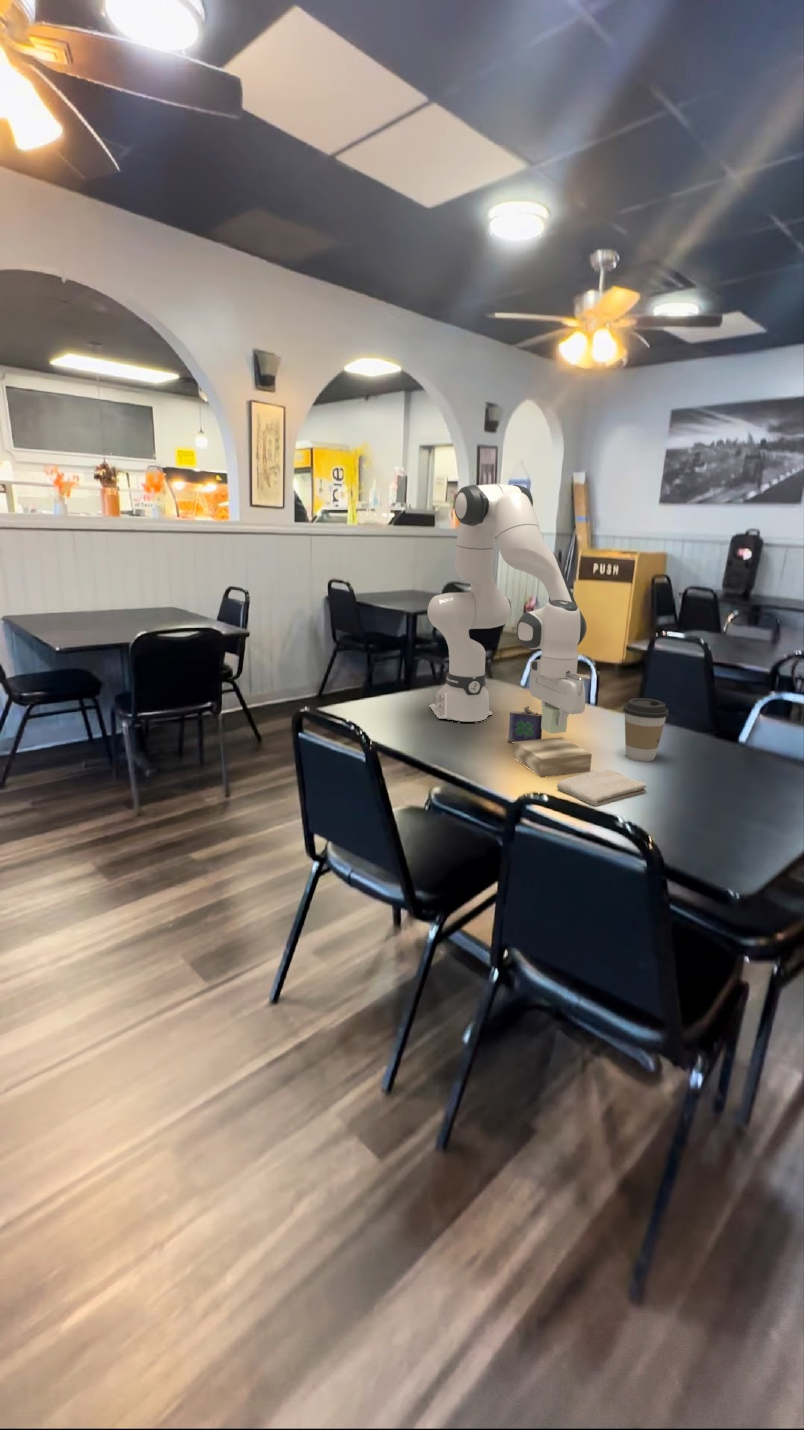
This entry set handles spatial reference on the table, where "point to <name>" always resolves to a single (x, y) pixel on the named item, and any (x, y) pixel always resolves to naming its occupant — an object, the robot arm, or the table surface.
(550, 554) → the robot arm
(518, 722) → the dark blue flattened pouch
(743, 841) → the table surface
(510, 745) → the table surface
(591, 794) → the washcloth
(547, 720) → the sage block
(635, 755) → the coffee cup
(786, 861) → the table surface
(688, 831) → the table surface
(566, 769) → the birch block
